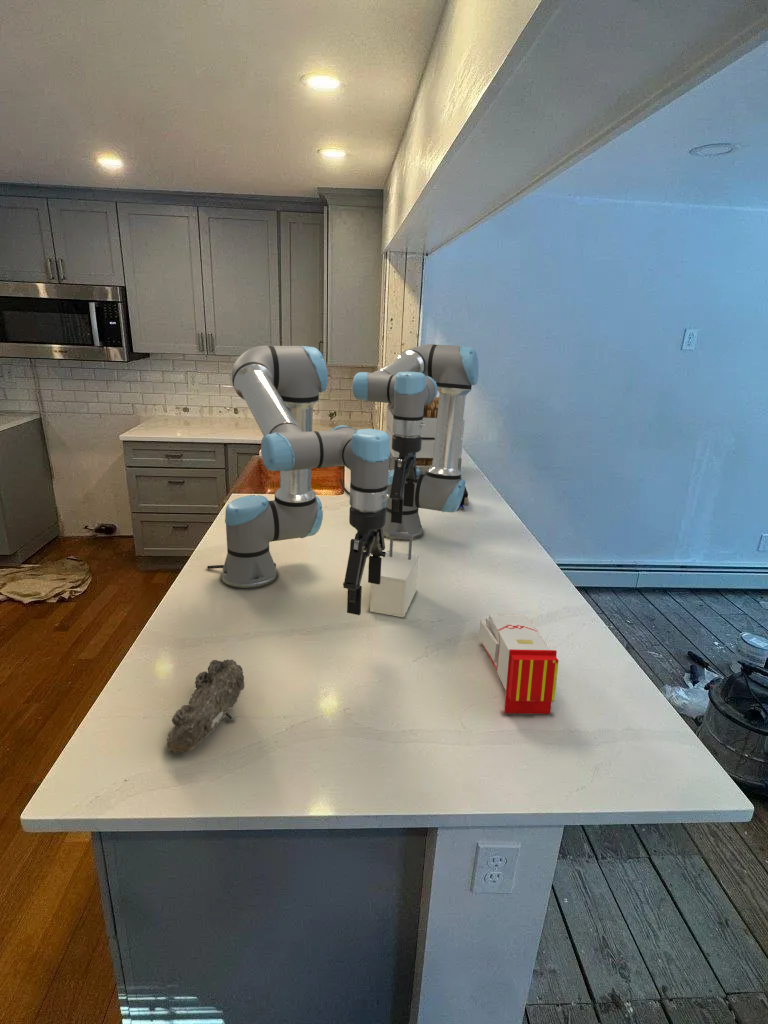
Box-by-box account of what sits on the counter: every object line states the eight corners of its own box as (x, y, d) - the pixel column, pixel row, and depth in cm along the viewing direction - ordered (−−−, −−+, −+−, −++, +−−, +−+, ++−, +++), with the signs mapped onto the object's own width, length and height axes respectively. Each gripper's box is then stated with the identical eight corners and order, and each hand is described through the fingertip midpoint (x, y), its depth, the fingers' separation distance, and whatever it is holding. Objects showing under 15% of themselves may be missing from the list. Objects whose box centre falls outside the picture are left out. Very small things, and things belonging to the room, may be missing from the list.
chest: (384, 586, 162) (386, 554, 158) (415, 591, 160) (418, 559, 156) (369, 611, 148) (371, 577, 145) (403, 617, 146) (405, 583, 143)
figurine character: (468, 514, 225) (463, 498, 239) (470, 497, 222) (465, 482, 235) (451, 514, 225) (447, 498, 238) (453, 497, 222) (449, 481, 235)
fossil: (192, 660, 117) (244, 628, 112) (224, 691, 120) (276, 661, 115) (142, 746, 98) (202, 712, 93) (182, 779, 101) (242, 748, 96)
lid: (387, 553, 159) (388, 526, 156) (418, 558, 157) (420, 531, 154) (371, 577, 145) (372, 548, 142) (405, 582, 143) (407, 553, 140)
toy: (524, 600, 137) (567, 656, 108) (520, 651, 140) (560, 720, 111) (474, 599, 137) (504, 655, 107) (471, 650, 140) (498, 719, 110)
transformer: (382, 463, 289) (386, 382, 275) (445, 464, 293) (451, 384, 279) (390, 482, 257) (394, 392, 243) (460, 483, 261) (468, 394, 247)
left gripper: (365, 533, 103) (362, 631, 111) (402, 489, 125) (396, 574, 133) (327, 526, 105) (326, 623, 113) (369, 485, 127) (366, 568, 135)
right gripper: (410, 447, 131) (405, 532, 138) (430, 427, 154) (425, 501, 161) (379, 443, 133) (376, 528, 140) (404, 424, 155) (399, 498, 163)
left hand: (364, 597), depth 123 cm, fingers open, 13 cm apart
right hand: (402, 514), depth 150 cm, fingers open, 13 cm apart
